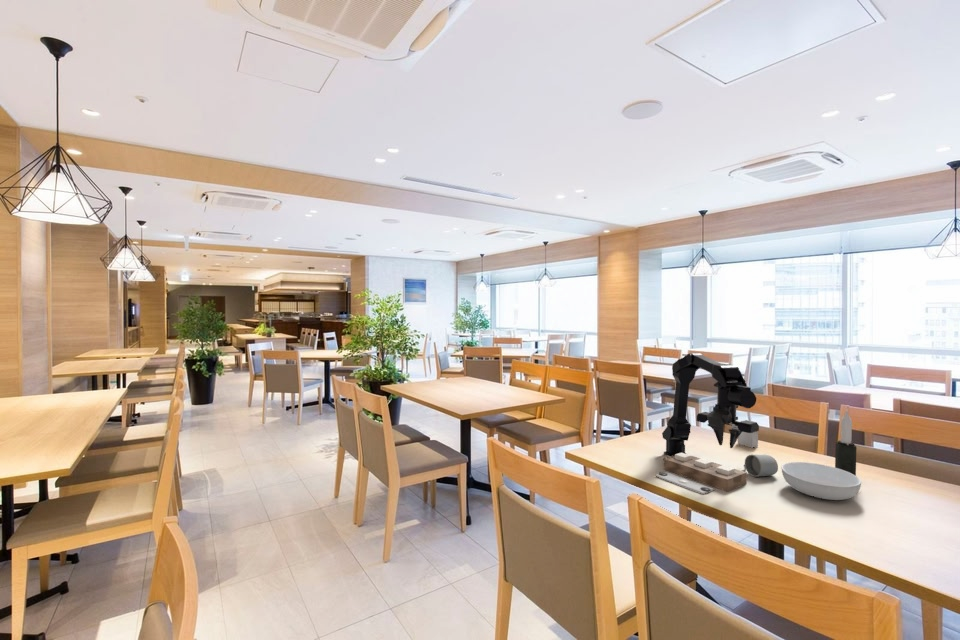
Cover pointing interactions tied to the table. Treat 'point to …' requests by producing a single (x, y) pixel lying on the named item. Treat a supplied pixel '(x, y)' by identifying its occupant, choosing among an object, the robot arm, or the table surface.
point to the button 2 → (725, 470)
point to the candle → (846, 447)
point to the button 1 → (683, 457)
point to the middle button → (703, 463)
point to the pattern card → (684, 482)
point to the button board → (705, 473)
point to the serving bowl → (821, 480)
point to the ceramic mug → (760, 465)
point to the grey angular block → (748, 439)
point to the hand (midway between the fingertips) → (726, 446)
